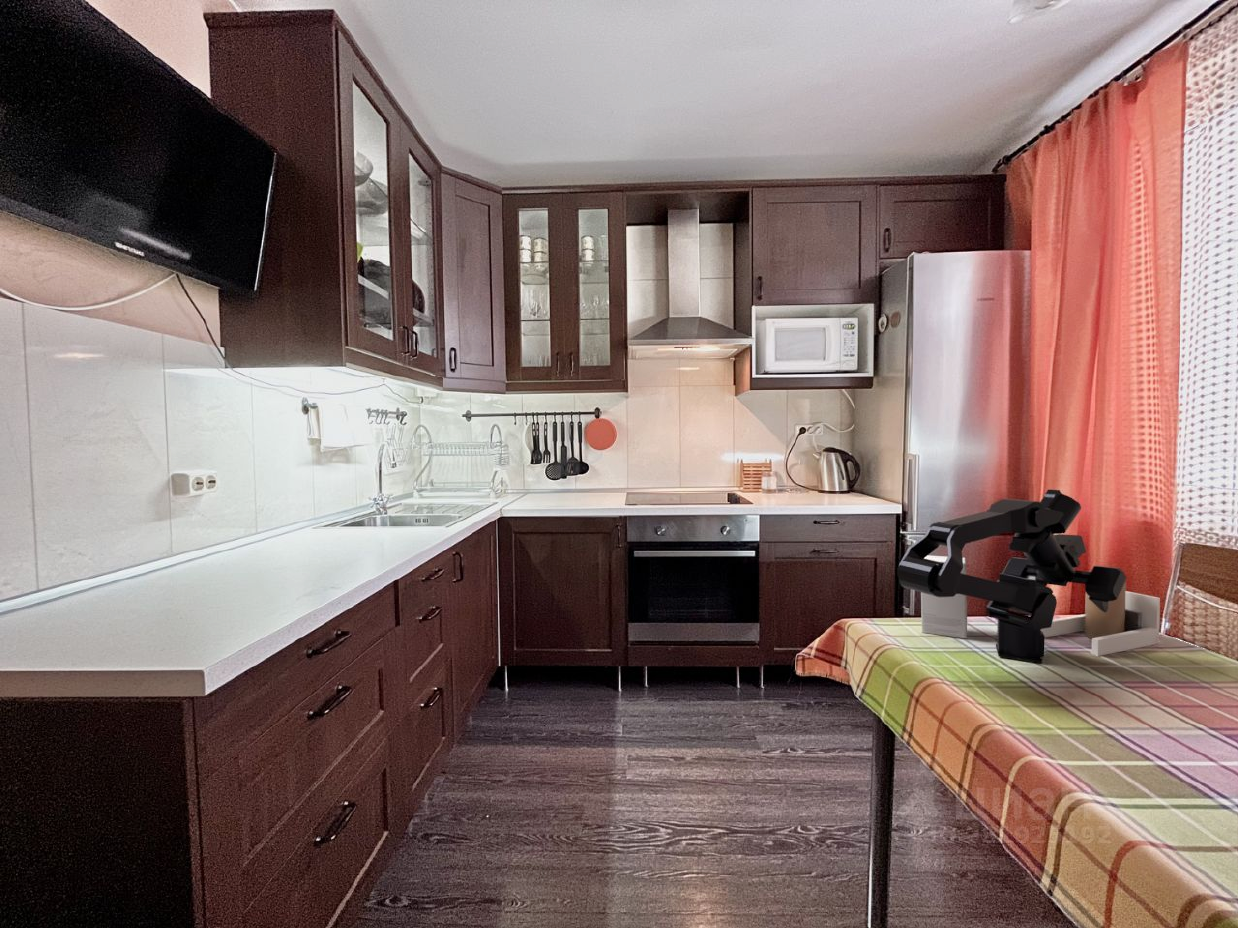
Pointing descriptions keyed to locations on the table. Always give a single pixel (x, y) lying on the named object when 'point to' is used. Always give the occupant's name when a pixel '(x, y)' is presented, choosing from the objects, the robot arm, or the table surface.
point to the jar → (1105, 617)
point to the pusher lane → (1120, 640)
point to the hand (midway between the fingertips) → (1077, 605)
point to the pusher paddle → (1132, 620)
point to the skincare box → (944, 611)
